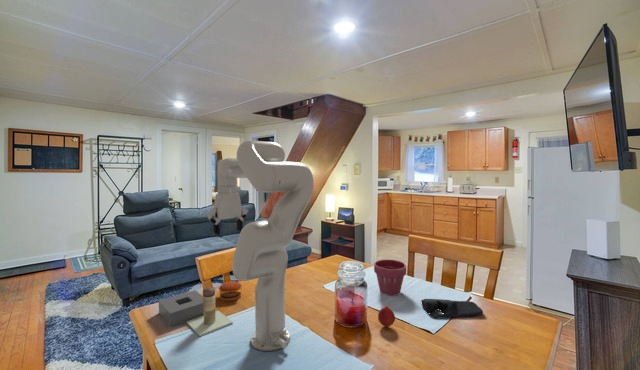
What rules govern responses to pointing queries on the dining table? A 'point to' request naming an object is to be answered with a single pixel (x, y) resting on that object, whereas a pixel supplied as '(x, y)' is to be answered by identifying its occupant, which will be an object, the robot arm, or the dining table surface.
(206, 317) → the plug
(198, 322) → the coaster
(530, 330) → the dining table surface
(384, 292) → the plant pot
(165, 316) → the socket block
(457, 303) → the black pouch
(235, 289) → the hamburger
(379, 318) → the onion
